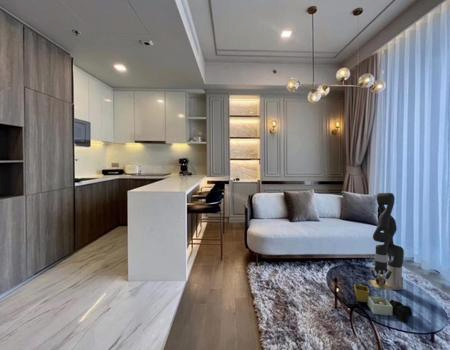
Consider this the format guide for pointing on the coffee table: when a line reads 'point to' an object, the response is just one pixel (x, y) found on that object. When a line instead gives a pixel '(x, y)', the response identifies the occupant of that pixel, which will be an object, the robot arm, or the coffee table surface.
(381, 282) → the lid
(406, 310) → the film camera
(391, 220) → the robot arm
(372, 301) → the pale green open box
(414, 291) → the coffee table surface
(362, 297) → the flower pot
